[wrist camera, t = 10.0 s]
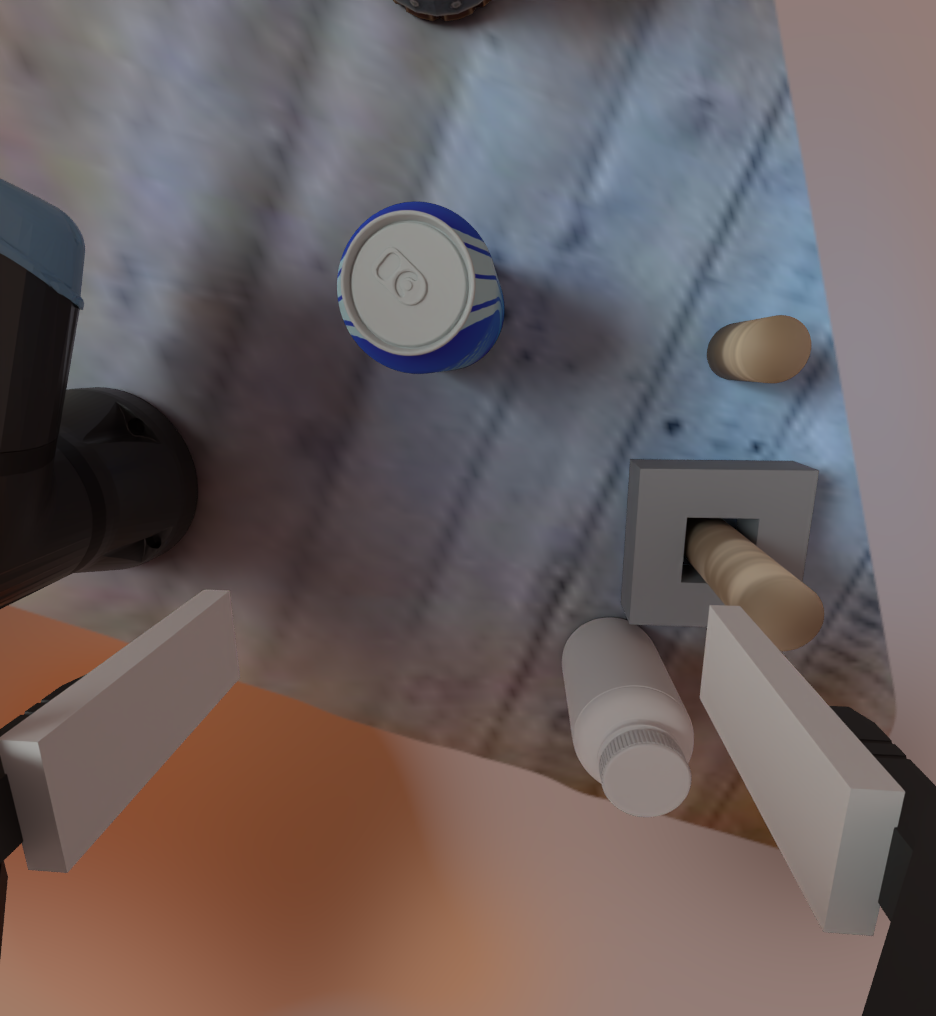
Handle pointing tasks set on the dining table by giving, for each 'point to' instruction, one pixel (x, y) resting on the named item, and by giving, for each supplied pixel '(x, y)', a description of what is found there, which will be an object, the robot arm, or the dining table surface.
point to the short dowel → (760, 350)
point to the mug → (441, 8)
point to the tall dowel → (753, 582)
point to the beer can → (420, 290)
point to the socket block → (706, 494)
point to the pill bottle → (627, 717)
